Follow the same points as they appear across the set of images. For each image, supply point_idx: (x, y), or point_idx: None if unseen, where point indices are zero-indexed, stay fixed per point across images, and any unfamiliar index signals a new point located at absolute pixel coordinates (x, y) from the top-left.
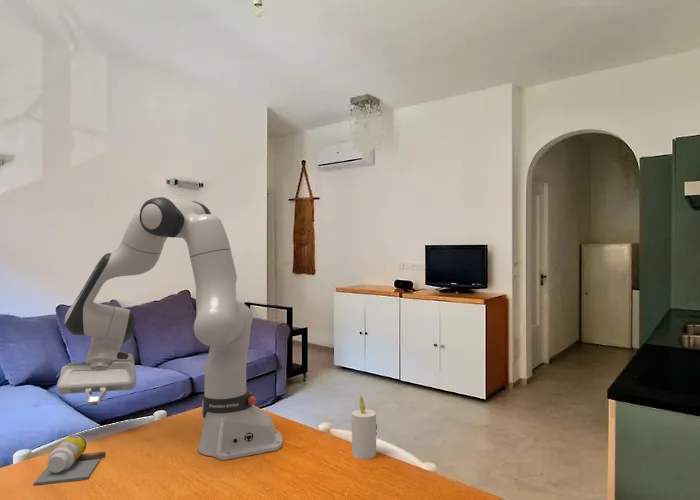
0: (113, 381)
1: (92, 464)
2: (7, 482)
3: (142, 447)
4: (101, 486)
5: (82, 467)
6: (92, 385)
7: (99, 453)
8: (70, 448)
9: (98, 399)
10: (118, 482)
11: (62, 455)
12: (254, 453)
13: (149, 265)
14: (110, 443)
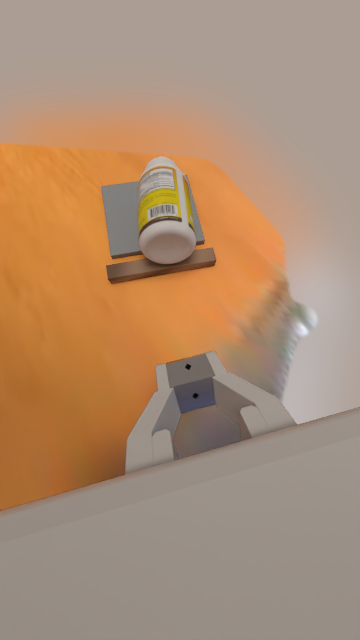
0: (12, 563)
1: (115, 232)
2: (239, 192)
3: (37, 330)
4: (69, 168)
5: (130, 221)
6: (250, 443)
7: (117, 269)
8: (143, 176)
9: (161, 374)
10: (44, 177)
11: (151, 165)
12: None
13: None
14: (132, 364)
